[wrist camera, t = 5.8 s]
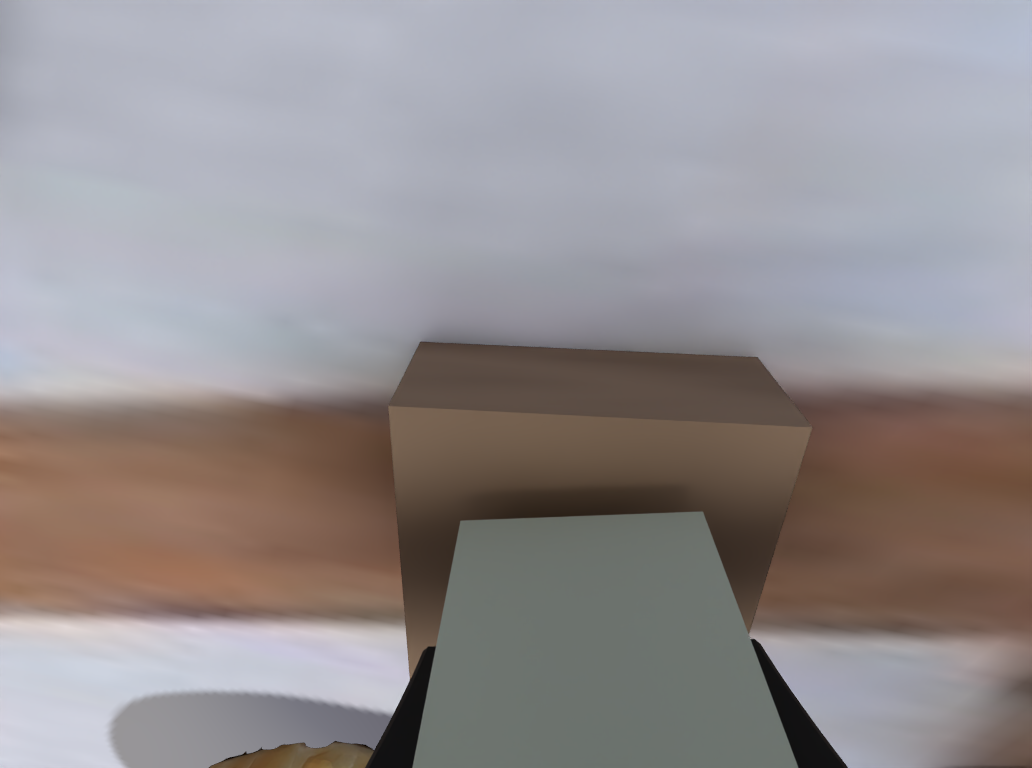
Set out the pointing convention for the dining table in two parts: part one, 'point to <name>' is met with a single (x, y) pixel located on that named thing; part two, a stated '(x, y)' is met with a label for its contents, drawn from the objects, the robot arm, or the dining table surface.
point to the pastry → (303, 757)
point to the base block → (586, 453)
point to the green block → (595, 651)
